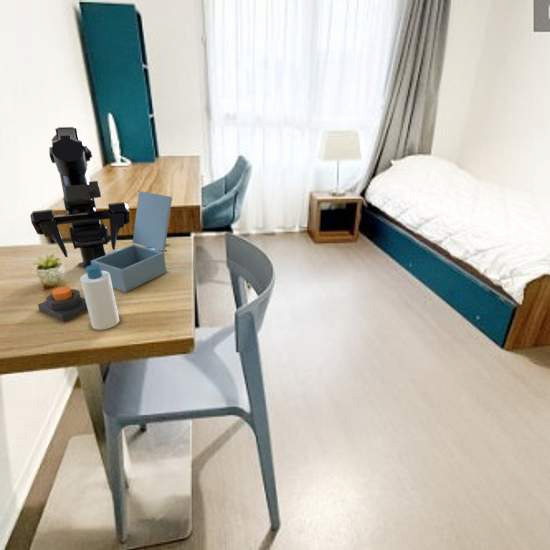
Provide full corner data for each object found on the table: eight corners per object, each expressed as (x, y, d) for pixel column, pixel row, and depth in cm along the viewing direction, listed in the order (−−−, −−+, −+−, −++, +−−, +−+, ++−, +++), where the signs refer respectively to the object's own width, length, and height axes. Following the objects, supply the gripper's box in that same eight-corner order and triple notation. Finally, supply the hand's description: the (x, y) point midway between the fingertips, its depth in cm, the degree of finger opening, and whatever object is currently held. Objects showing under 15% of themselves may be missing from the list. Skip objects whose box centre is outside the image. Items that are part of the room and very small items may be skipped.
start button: (50, 298, 80) (48, 291, 79) (66, 291, 83) (64, 285, 82) (60, 302, 79) (58, 295, 78) (75, 295, 81) (74, 288, 81)
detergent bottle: (86, 325, 77) (71, 269, 71) (108, 313, 81) (96, 259, 75) (103, 332, 74) (89, 275, 69) (124, 320, 79) (113, 265, 73)
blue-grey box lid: (170, 196, 95) (172, 197, 96) (138, 190, 100) (141, 191, 101) (162, 250, 97) (164, 250, 98) (132, 242, 102) (134, 242, 103)
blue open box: (125, 292, 90) (121, 271, 87) (95, 281, 95) (90, 260, 92) (166, 272, 100) (163, 252, 98) (136, 263, 105) (133, 244, 103)
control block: (39, 311, 81) (35, 297, 80) (69, 297, 87) (65, 284, 85) (64, 322, 77) (60, 308, 76) (93, 307, 83) (90, 294, 81)
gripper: (18, 171, 71) (29, 243, 67) (120, 165, 79) (136, 229, 75) (32, 202, 81) (43, 266, 77) (122, 193, 88) (136, 251, 84)
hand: (90, 252), depth 78 cm, fingers open, 9 cm apart
